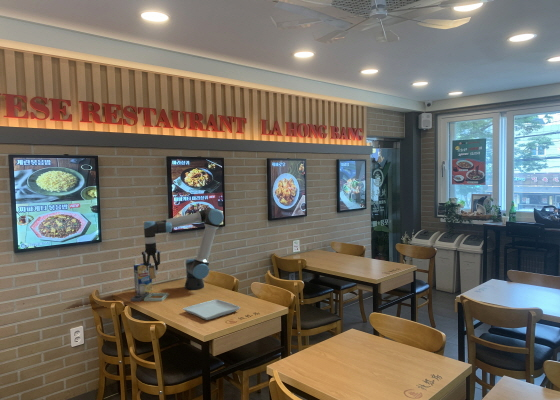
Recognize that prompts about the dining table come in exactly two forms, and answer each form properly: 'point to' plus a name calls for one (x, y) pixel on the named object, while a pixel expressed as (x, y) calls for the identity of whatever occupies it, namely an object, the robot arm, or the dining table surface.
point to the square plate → (211, 309)
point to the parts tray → (156, 298)
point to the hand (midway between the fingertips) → (152, 274)
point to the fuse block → (139, 297)
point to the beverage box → (142, 277)
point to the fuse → (142, 289)
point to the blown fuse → (152, 272)
